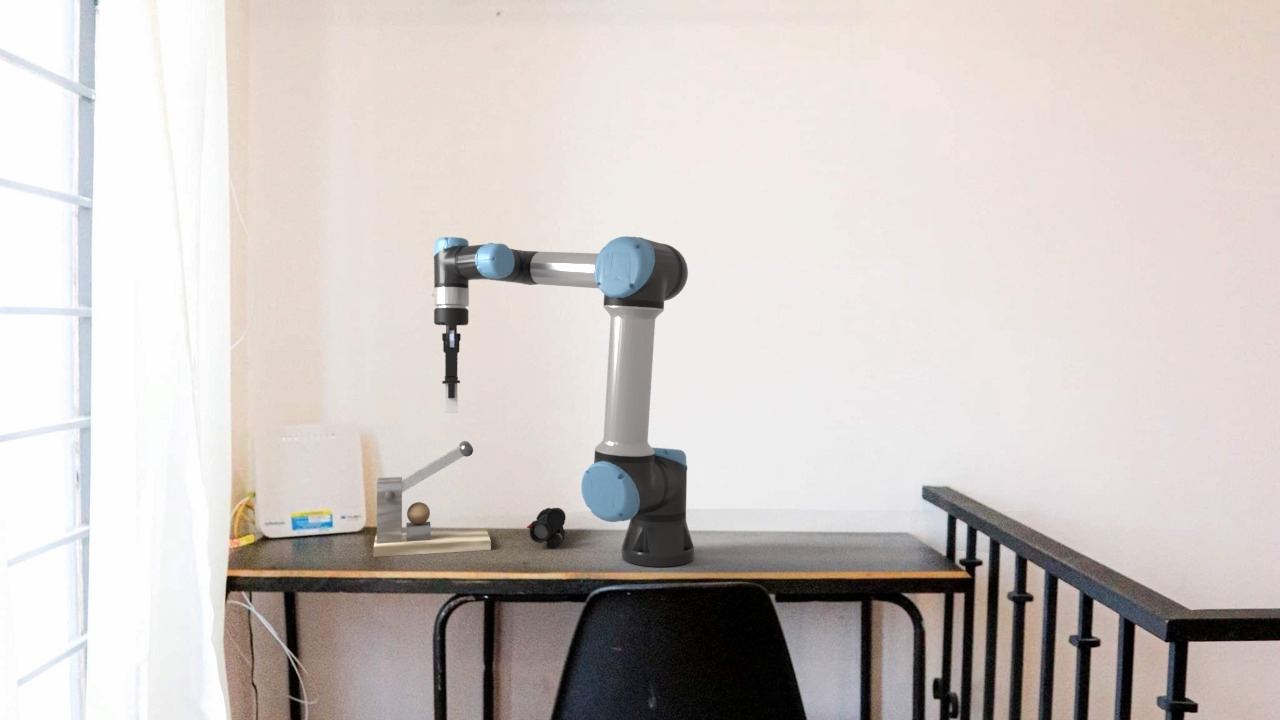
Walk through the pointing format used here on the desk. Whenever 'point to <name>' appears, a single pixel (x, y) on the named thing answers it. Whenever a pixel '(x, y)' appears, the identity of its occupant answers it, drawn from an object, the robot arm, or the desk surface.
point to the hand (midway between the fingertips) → (451, 412)
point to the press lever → (437, 465)
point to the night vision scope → (548, 527)
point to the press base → (437, 543)
